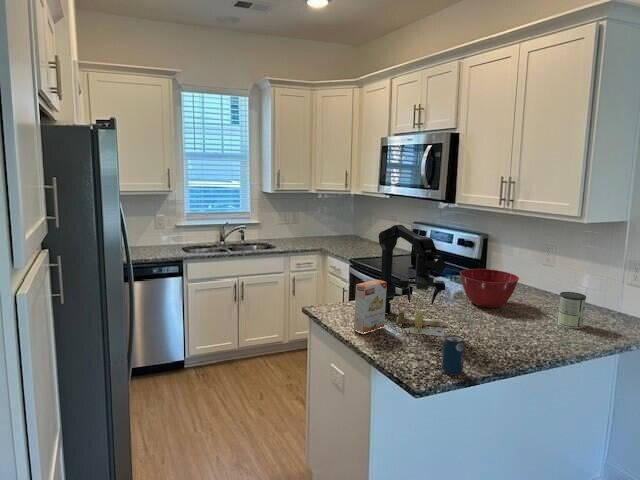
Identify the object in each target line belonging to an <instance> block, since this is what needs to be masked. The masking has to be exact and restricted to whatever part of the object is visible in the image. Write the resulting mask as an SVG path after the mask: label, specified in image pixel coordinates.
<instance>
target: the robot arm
mask: <svg viewBox="0 0 640 480" xmlns="http://www.w3.org/2000/svg"><path fill="white" fill-rule="evenodd" d="M400 238H401V239H403V240H405V241H406V242H408V243H410V244H411V246H412V249H414V250H415V252H414V253H413V254H412V255H413V256H415V257H416V260H415V262H416V263H415V276H414V278H415V279H414V280H410V278H405V277H401V278H399V283H398V285H399V287H398V288H401V290H404V291H405V293H406V296H407V300H408V304H411V291H410V290H411V289H410V286H415V287H416V289H417V290H429V288H433V290H432V295H431V305H433V304H434V302H435V300H436V298H437V295H438V294H439V293H442V291H446V282H445V281H444V280H434V278H435V277H432V276H431V277H430V275H431V273H430V271H431V272H434V273H438V274H441V273H444V271H445V269H446V262H445V260H444V259H443V256H442V255H439V251H438V249H437V248H436V245H435V242H434V240H433V239H432V238H431V237H428V236H425V235H424V236H423V235H420V234H417V233H415V232H414V231H412V229H411V230H410V229H409V228H407V227H406V226H405V225H403V224H393V225H392V226H391V227H388V228H387V229H384V230H381V231H380V233H378V244H379V246H380V248H381V250H382V251H381V268H380V271H381V272H380V280H381V281H385V282H387V289H386V306H385V313H389V314H390V313H391V310H392V309H391V305H392V304H391V302H390V301H393V300H394V297H395V295H396V293H397V292H396V291H397V285H396V284H395V283H394V282H393V280H392V279H393V256H394V250H395V248H396V246H397V244H398V240H399V239H400Z"/></svg>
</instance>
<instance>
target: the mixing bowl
mask: <svg viewBox="0 0 640 480" xmlns="http://www.w3.org/2000/svg"><path fill="white" fill-rule="evenodd" d="M459 275H460V279H461V284H462V287H463V290H464V292H465V295H466V297H467V298H468V300H469V301H470V302H471V303H473V305H475V304H476V306H478V307H481V306H482V308H490V309H494V308H495V309H496V308H499V307H502V306H503V305H505V304H506V303H507V302H508V301H509V300H510V298H511V297H512V295H513V293H514V291H515V289H516V287H517V284H518V282H519V280H520V277H519V276H518V275H517V274H514V273H512V272H511V273H510V272H507V271H503V270H497V269H488V268H471V269H464V270H461V271H460V272H459Z"/></svg>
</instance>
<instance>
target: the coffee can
mask: <svg viewBox="0 0 640 480" xmlns="http://www.w3.org/2000/svg"><path fill="white" fill-rule="evenodd" d="M586 299H587V296H586V295H585V294H583V293H581V292H580V293H579V292H574V291H562V292H560V293H559V303H558V304H559V305H558V312H557V313H558V314H557V325H559V326H561V327H563V328H568V329H582V328H583V327H584V317H585V307H586Z"/></svg>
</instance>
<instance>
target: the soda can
mask: <svg viewBox="0 0 640 480" xmlns="http://www.w3.org/2000/svg"><path fill="white" fill-rule="evenodd" d="M465 346H466V345H465V342H464V339H463V337H461V336H459V335H455V334H453V335H451V334H450V335H445V338H444V340H443V343H442V360H441V369H442V370H443V372H444V374H446V375H449V374H450V375H449V376H459V375H461V373H462V372H463V370H464V361H465V360H464V358H465Z"/></svg>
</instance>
